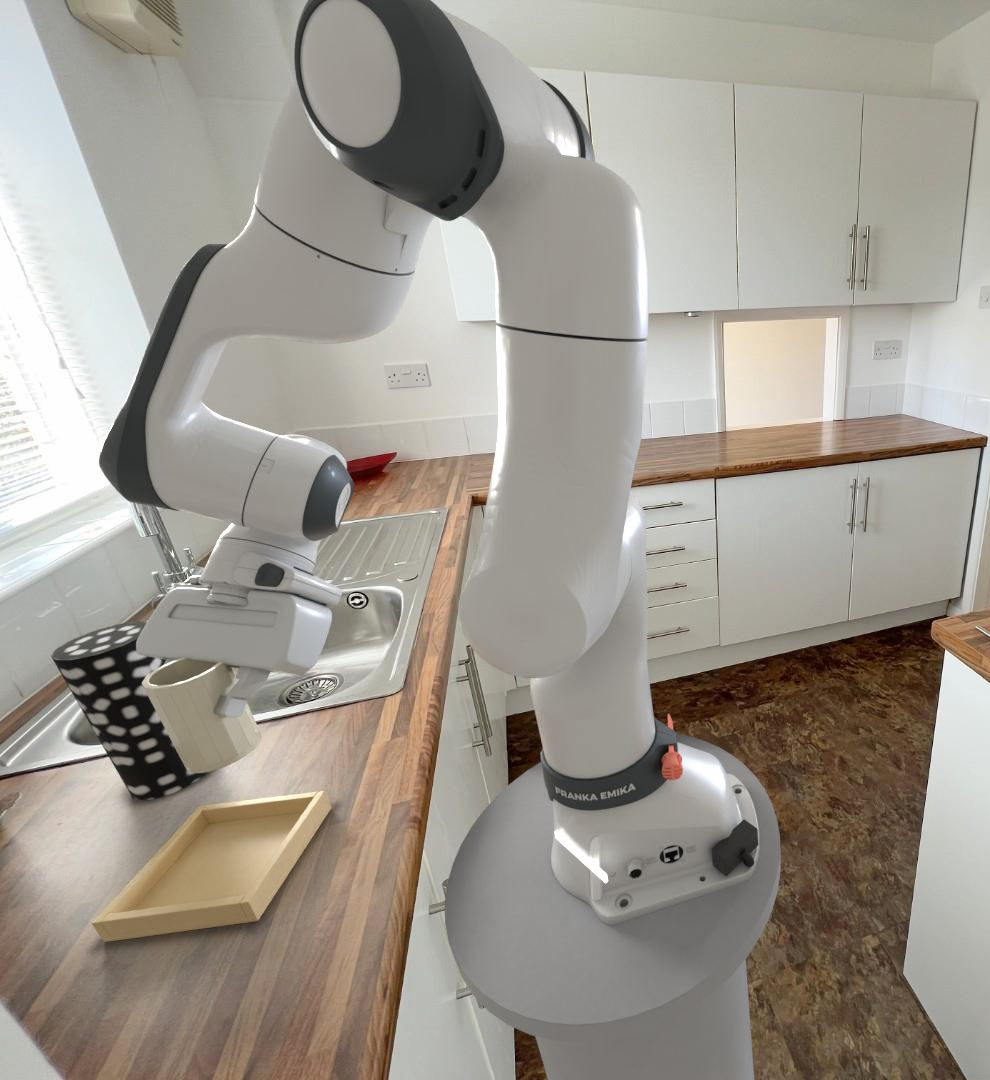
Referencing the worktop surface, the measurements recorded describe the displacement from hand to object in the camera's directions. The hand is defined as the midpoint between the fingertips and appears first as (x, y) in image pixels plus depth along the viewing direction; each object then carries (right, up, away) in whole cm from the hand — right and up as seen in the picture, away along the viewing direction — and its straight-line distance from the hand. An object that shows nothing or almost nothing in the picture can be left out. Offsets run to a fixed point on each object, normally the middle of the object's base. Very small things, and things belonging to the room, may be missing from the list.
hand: (197, 712), depth 57 cm
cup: (0, -5, +3) cm, 5 cm away
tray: (0, -17, +3) cm, 18 cm away
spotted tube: (-18, -13, +17) cm, 28 cm away
